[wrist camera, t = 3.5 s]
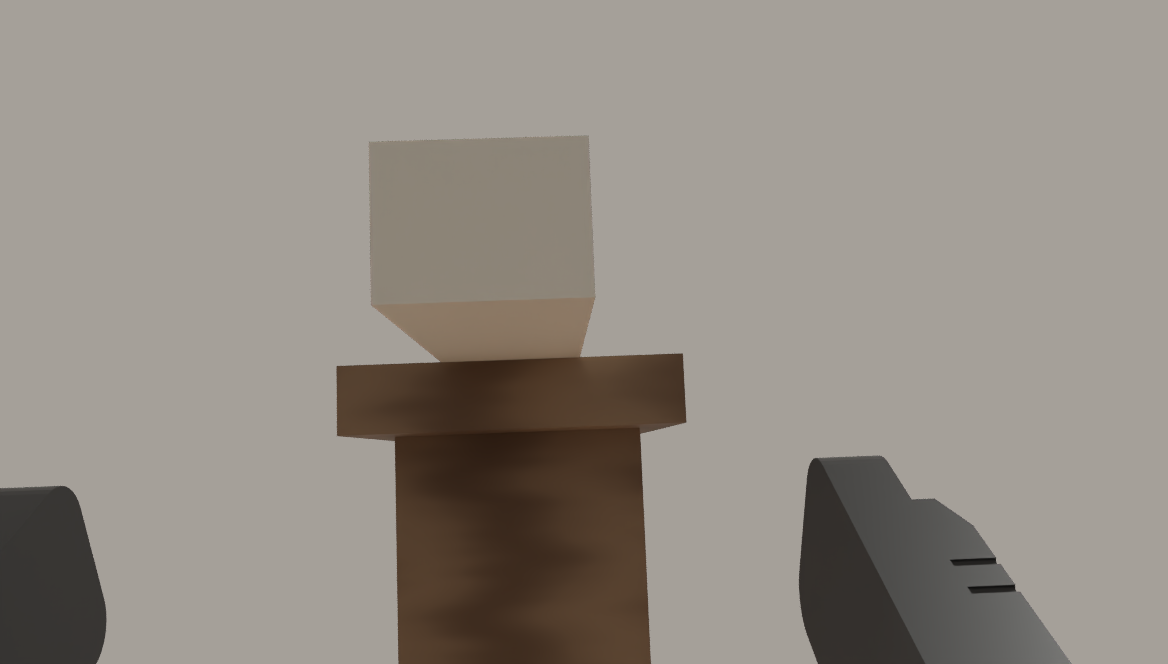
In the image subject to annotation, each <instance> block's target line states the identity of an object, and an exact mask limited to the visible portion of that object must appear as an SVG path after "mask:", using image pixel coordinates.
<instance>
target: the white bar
mask: <svg viewBox="0 0 1168 664" xmlns="http://www.w3.org/2000/svg"><path fill="white" fill-rule="evenodd" d="M589 159H590V158H589V136H556V137H523V138H489V139H487V138H485V139H452V140H417V141H385V142H384V141H382V142H369V183H370V184H369V190H370V259H371V260H370V265H371V305H372V306H373V307H374V308H375V309H377V310H378V311H379V312H380V313H381V314H383V315H384V316H385V317H386V318H388V319H389V320H390V321H391V322H393V323H394V324H395V325H396V326H397V327H399V328H400V329H401V330H402V331H404V332H405V333H406V334H407V335H408V336H410V337H411V338H412V339H413V340H415V341H416V342H417V343H418V344H419V345H421V346H422V347H423V348H424V349H426V350H427V351H428V352H429V353H430V354H432V355H433V356H434V357H435V358H437V359H438V360H439V361H440V362H464V361H492V360H519V359H547V358H574V357H580V354H581V350H582V346H583V343H584V338H585V335H586V331H587V327H588V323H589V320H590V315H591V312H592V308H593V304H594V300H595V279H594V256H593V255H594V254H593V230H592V209H591V208H592V206H591V182H590V160H589Z"/></svg>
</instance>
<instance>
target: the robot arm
mask: <svg viewBox="0 0 1168 664" xmlns="http://www.w3.org/2000/svg"><path fill="white" fill-rule="evenodd" d="M799 572H800V573H799V592H800V604H801V610H802V617H803V622H804V626H805V629H806V633H807V636H808V638H809V641H810V643H811V646H812V649H813V651H814V654H815V657H816V660H817V662H818V664H1071V663H1070V661H1069V660H1068V658H1067V657H1066V656H1065V654H1064V653H1063V651H1062V650H1061V649H1060V647H1059V646H1058V644H1057V643H1056V641H1055V640H1054V639H1053V637H1052V636H1051V634H1050V633H1049V632H1048V630H1047V629H1046V628H1045V626H1044V625H1043V623H1042V622H1041V620H1040V619H1039V618H1038V616H1037V615H1036V613H1035V612H1034V610H1033V609H1032V608H1031V607H1030V605H1029V603H1028V602H1027V601H1026V599H1025V598H1024V596H1023V595H1022V594H1021V592H1016V590H1015V584H1014V582H1013V581H1012V580H1011V578H1010V577H1009V576H1008V574H1007V573H1006V571H1005V570H1004V568H1003V567H1002V565H1001V564H997V563H996V557H995V556H994V554H993V553H992V551H991V550H990V549H989V547H988V546H987V545H986V543H985V542H984V540H983V539H982V537H981V536H980V535H979V533H978V532H977V530H976V529H975V528H974V526H973V525H971V524H970V523H969V522H967V521H966V520H965V519H963V518H962V517H960V516H959V515H957V514H956V513H954V512H953V511H952V510H950V509H948V508H947V507H945V506H944V505H943V504H941V503H940V502H939V501H937V500H935V499H916V500H912V499H911V498H910V496H909V495H908V493H907V492H906V490H905V489H904V487H903V485H902V484H901V482H900V481H899V479H898V478H897V476H896V474H895V473H894V471H893V470H892V468H891V467H890V465H889V463H888V462H887V461H886V460H885V458H884V457H882V456H857V457H834V458H815V459H813V460H812V462H811V463H810V466H809V469H808V475H807V485H806V497H805V509H804V522H803V535H802V546H801V559H800V571H799ZM105 632H106V607H105V601H104V597H103V594H102V590H101V586H100V582H99V578H98V574H97V570H96V566H95V562H94V558H93V554H92V551H91V547H90V543H89V539H88V535H87V532H86V528H85V523H84V520H83V516H82V512H81V508H80V505H79V502H78V500H77V498H76V496H75V494H74V493H73V492H72V491H71V490H70V489H69V488H67V487H65V486H50V487H25V488H0V664H96V663H97V661H98V659H99V657H100V654H101V651H102V647H103V644H104V639H105Z"/></svg>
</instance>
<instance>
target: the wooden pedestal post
mask: <svg viewBox="0 0 1168 664" xmlns="http://www.w3.org/2000/svg"><path fill="white" fill-rule="evenodd" d="M683 370H684V369H683V354H656V355H629V356H601V357H574V358H547V359H519V360H492V361H464V362H438V363H409V364H382V365H354V366H337V436H343V437H356V438H366V439H379V440H390V441H395V468H396V469H395V471H396V534H397V594H398V596H397V597H398V660H399V664H651V659H650V637H649V617H648V596H647V595H648V593H647V572H646V550H645V530H644V529H645V528H644V508H643V486H642V463H641V442H640V434H641V433H645V432H649V431H654V430H658V429H661V428H666V427H670V426H674V425H677V424H682V423H686V407H685V389H684V371H683Z"/></svg>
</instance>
